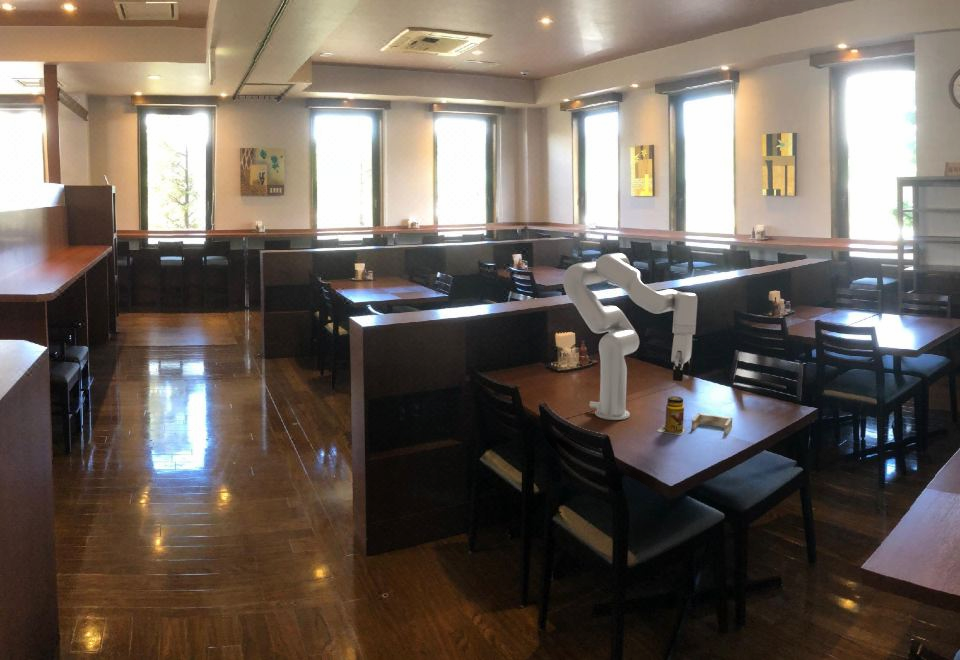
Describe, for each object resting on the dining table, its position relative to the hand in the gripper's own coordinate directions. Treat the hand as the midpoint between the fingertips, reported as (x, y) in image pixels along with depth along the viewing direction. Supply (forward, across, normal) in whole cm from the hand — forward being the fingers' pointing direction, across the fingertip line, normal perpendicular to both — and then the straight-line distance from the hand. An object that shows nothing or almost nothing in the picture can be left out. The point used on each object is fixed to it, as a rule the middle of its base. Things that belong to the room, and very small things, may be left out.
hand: (680, 377), depth 263 cm
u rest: (+19, -7, +10) cm, 23 cm away
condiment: (+20, +1, -2) cm, 20 cm away
